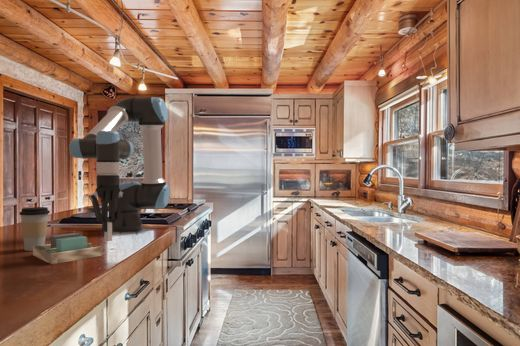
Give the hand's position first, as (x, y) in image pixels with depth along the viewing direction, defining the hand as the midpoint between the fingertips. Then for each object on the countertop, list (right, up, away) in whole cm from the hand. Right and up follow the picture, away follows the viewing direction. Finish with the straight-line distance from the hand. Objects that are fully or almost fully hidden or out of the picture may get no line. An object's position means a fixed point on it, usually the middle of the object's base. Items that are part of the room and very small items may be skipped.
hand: (108, 240), depth 124 cm
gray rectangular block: (-13, -4, -4) cm, 14 cm away
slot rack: (-10, -4, -6) cm, 13 cm away
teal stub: (-8, -4, -10) cm, 13 cm away
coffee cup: (-28, -4, +2) cm, 28 cm away
